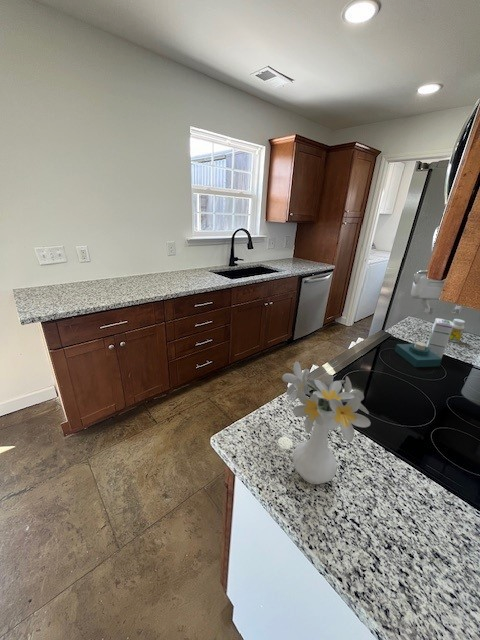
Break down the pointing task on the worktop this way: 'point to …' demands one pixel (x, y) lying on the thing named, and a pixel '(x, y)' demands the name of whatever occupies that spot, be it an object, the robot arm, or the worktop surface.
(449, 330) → the syrup box
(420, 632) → the worktop surface
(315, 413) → the flower vase
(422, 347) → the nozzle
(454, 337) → the supplement bottle
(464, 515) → the worktop surface
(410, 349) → the cap block
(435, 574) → the worktop surface
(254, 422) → the worktop surface
